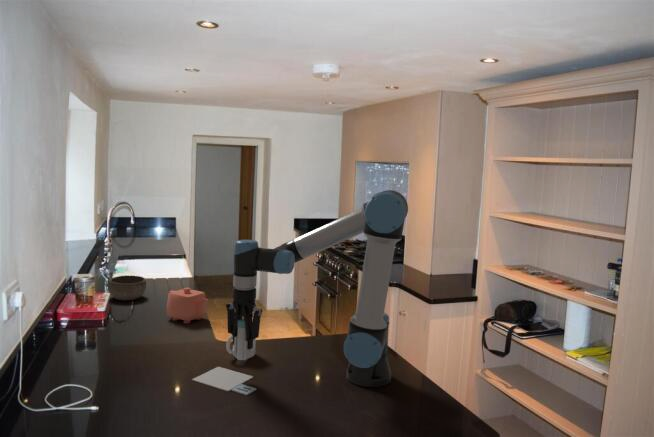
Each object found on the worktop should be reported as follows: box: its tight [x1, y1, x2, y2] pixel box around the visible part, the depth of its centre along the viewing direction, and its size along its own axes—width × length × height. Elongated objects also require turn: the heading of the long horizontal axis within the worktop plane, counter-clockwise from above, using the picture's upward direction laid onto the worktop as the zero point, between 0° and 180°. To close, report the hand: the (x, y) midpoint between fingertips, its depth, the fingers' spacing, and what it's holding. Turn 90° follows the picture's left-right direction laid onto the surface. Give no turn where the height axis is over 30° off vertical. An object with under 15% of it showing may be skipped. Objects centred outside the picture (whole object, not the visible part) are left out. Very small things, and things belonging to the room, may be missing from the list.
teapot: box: [166, 287, 209, 325], centre depth 235 cm, size 22×13×14 cm, turn 61°
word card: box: [230, 383, 257, 396], centre depth 166 cm, size 6×5×1 cm
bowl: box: [108, 275, 147, 302], centre depth 265 cm, size 17×18×10 cm
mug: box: [225, 334, 257, 359], centre depth 194 cm, size 12×8×10 cm
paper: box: [191, 366, 254, 392], centre depth 174 cm, size 15×13×1 cm
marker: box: [236, 317, 248, 364], centre depth 174 cm, size 4×4×14 cm
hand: (242, 356), depth 175 cm, fingers closed on marker, 3 cm apart
